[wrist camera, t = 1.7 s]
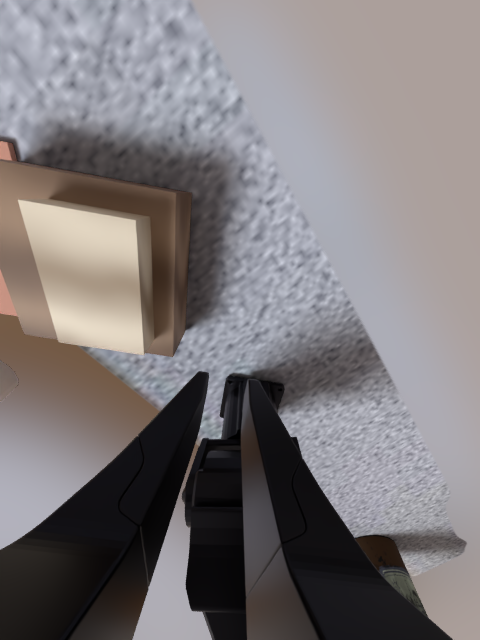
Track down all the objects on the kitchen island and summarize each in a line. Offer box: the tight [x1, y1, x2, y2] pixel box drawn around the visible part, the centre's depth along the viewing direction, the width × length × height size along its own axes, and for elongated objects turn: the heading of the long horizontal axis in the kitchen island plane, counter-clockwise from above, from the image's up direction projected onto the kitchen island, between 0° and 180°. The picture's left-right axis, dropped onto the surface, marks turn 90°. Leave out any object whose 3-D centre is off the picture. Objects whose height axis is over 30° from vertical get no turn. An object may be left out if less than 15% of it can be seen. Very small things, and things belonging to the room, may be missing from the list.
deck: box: [0, 159, 192, 357], centre depth 17 cm, size 12×12×4 cm
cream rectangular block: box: [18, 199, 154, 355], centre depth 15 cm, size 9×6×2 cm, turn 171°
